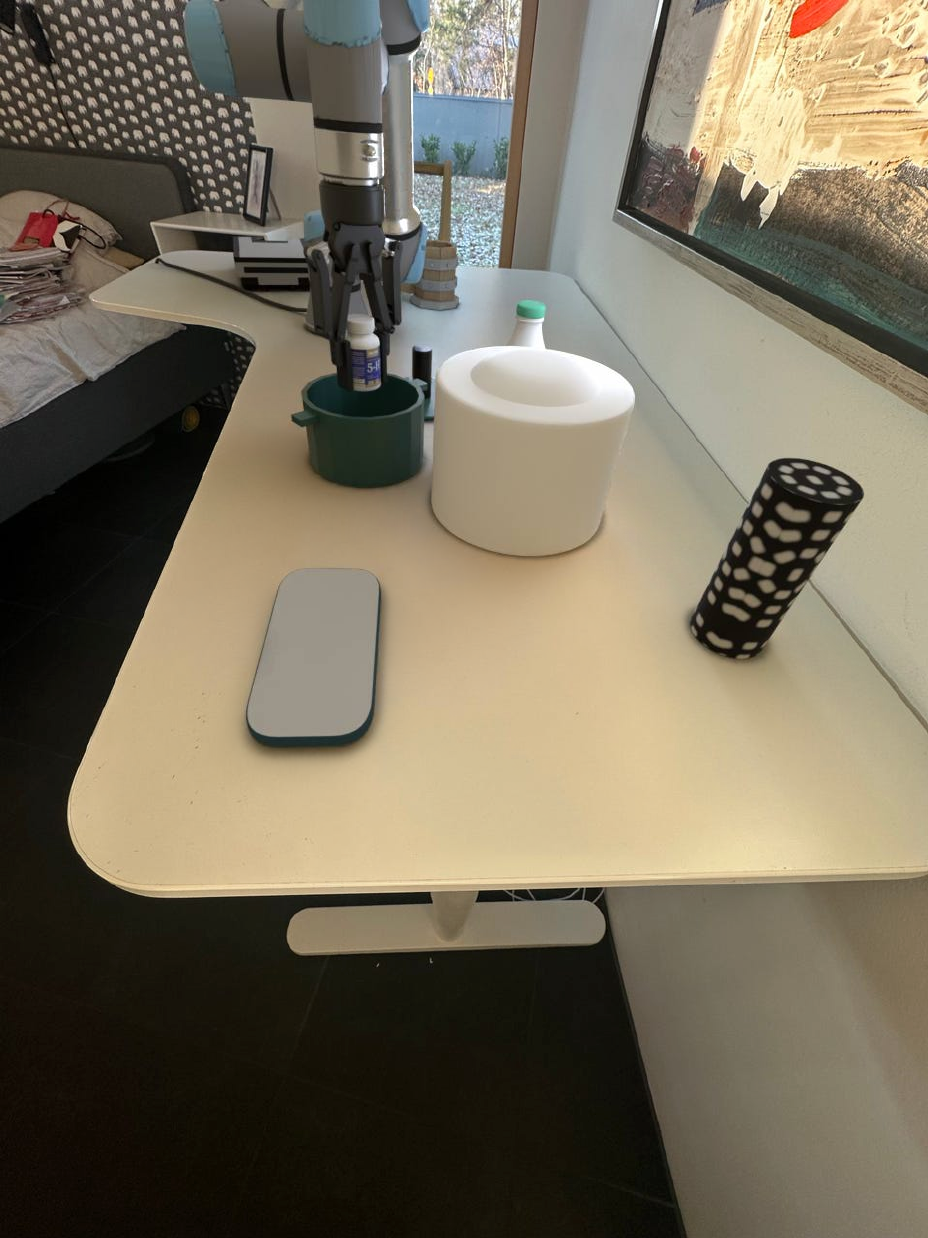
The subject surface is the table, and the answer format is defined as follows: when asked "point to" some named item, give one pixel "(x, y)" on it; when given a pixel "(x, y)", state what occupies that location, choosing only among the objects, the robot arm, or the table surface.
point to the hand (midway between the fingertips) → (363, 383)
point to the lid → (424, 376)
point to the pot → (364, 430)
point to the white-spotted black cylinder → (773, 554)
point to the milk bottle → (528, 325)
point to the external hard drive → (318, 660)
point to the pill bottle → (364, 352)
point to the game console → (270, 263)
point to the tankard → (436, 278)
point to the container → (526, 447)
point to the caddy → (445, 213)
